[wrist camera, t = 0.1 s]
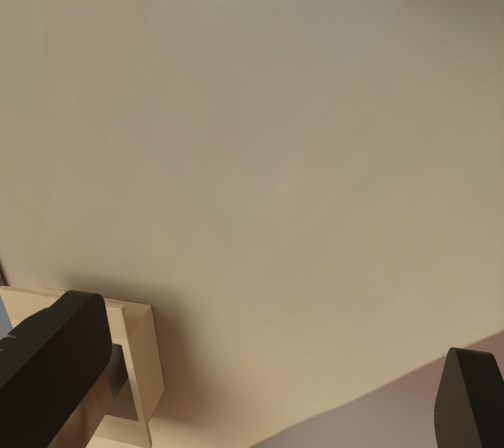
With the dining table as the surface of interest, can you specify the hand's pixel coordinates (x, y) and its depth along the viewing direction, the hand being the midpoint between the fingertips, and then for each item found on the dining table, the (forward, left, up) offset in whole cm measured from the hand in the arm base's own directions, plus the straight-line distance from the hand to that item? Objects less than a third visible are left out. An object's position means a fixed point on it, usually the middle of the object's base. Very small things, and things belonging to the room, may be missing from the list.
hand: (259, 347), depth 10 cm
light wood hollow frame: (+21, -18, -17) cm, 32 cm away
